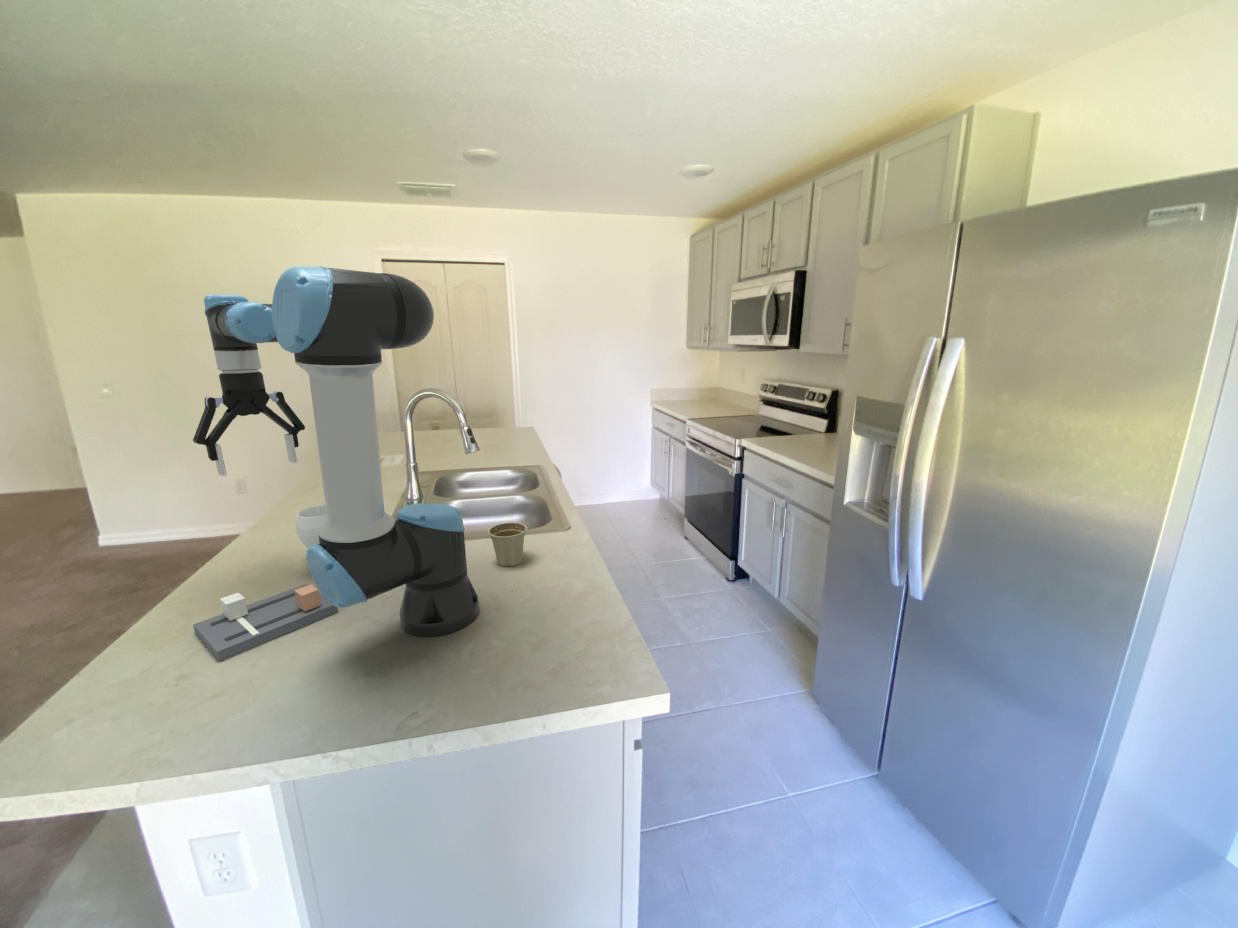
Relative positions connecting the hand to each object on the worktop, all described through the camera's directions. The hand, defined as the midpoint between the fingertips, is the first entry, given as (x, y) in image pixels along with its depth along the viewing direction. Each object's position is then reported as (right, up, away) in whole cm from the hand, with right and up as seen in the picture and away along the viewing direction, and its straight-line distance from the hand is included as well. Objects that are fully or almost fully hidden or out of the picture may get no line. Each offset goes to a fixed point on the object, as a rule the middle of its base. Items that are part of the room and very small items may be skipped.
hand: (259, 468), depth 111 cm
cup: (+10, -25, +10) cm, 29 cm away
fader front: (+18, -28, -11) cm, 35 cm away
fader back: (+5, -29, -14) cm, 32 cm away
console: (+11, -31, -12) cm, 35 cm away
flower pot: (+53, -24, +14) cm, 59 cm away
